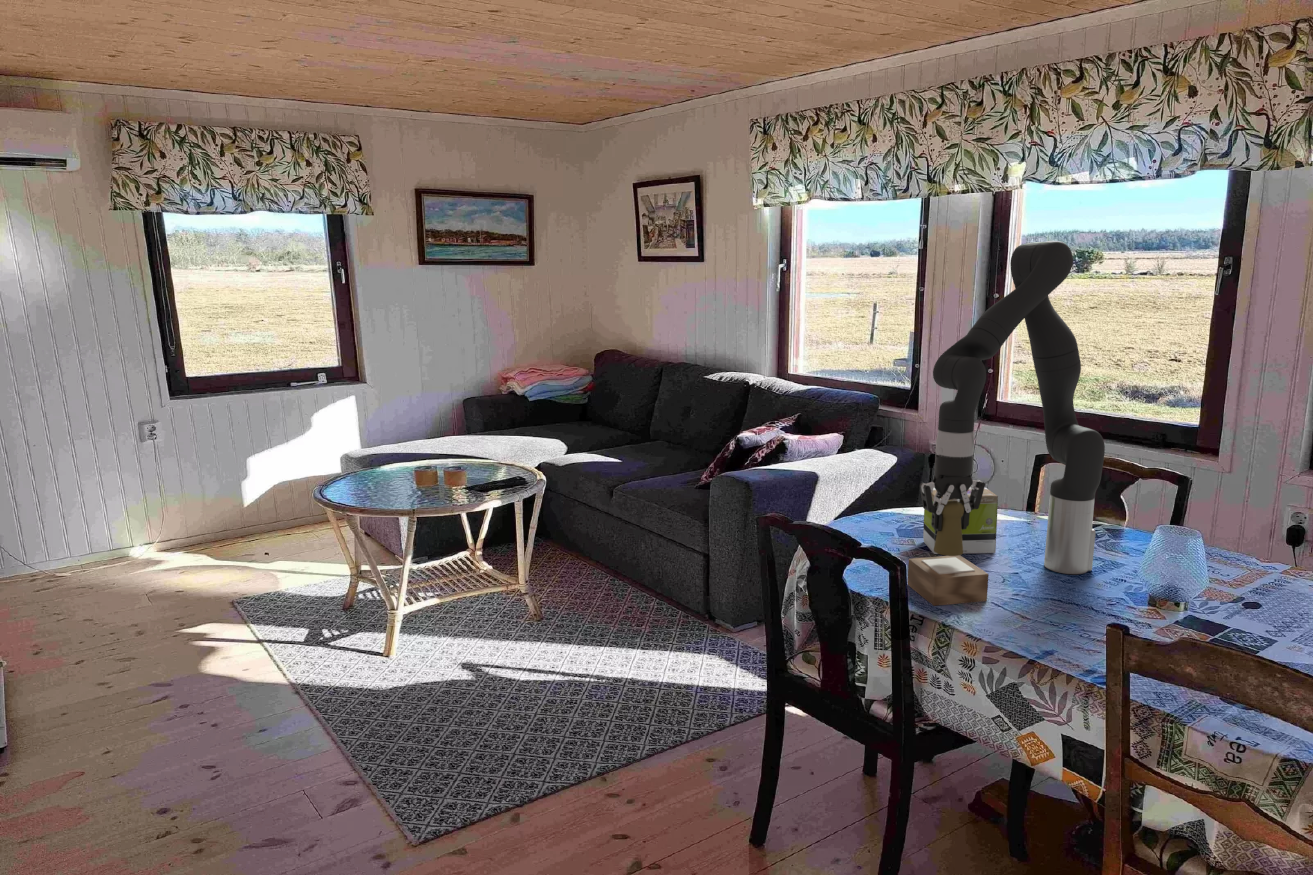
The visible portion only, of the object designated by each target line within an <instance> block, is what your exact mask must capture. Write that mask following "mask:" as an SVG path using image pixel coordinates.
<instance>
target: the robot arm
mask: <svg viewBox="0 0 1313 875" xmlns="http://www.w3.org/2000/svg"><path fill="white" fill-rule="evenodd" d="M1073 257H1074V256H1073V253H1072V250H1071V247H1069V246H1068V244H1066V243H1065V242H1063V241H1060V240H1048V241H1047V240H1046V241H1038V242H1036V241H1035V242H1027V243H1022V244H1020V245H1018V246H1017V247H1016V248H1014V249H1013V252H1012V254H1011V257H1010V264H1009V265H1010V266H1009V267H1010V274H1011V278H1012V281H1013V285H1014V289H1013V290H1012V291H1011V292H1009V293H1008V294H1007V295H1005V296H1004V297H1002V298H1001V299H1000V300H998V301H997V302H995V303H994V304H992V306H990V307H989V308H988V309H986V311H985V312H983V313H982V315H981V316H979V318H978V319H977V320H976V321H975V323H974V324H973V326H972V327H971V328H970V330H969V331H968V333H967V334H965V335H964V337H962V338H960V339H959V340H957V341H956V342H955V343H954V344H953V345H951V346H950V347H949V348H947V349H946V350H945V351H943V353H941V355H939V357H938V358H937V359H936V361H935V364H933V365H934V366H933V370H932V378H933V381H934V382H935V384H936V385H938V387H941V388H944V389H949V390H954V391H956V393H955V394H956V395H955V397H954V399H953V400H946V401H943V402H942V403H941V404H940V406H939V410H938V422H937V423H938V424H937V435H936V439H935V453H934V454H935V455H934V468H933V469H934V477H933V479H932V481H931V482H927V483H924V482H920V483H919V490H920V496H921V503H922V508H923V509H925V510H927V511H929V512H932V521H931V525H932V527H933V528H934V530H936V531H941V527H942V515H941V513H942V510H943V508H944V506H945V505H946V504H947V502H948V500H951V499H957V501H958V502H960V503H962V504H963V506H964V513H963V516H962V517H961V529H962V530H964V529H967V527H968V525H969V515H970V512H971V510H974V509H978V508H979V505H980V502H981V498H982V495H983V491H984V487H986V483H985V482H984V481H982V480H980V479H973V477H972V474H973V465H974V453H975V452H974V451H975V436H974V435H975V432H974V431H975V416H976V414H975V413H976V410H977V407H978V405H979V401H980V399H981V397H982V396H981V395H982V393H983V390H984V388H985V384H986V379H987V370H986V366H985V365H984V362H983V361H985V360H989V359H991V358H993V357H994V356H995V355H996V354H997V353H998V352H999V350H1000V349H1001V348H1002V346H1003V345H1004V344H1005V342H1006V341H1007V340H1008V339H1009V337H1010V335H1011V334H1012V333H1013V332H1014V331H1015V330H1016V328H1018V326H1019V325H1020V324H1021V323H1022V321H1023V320H1024V321H1025V322H1024V323H1025V327H1026V329H1027V330H1026V331H1027V335H1028V340H1029V344H1030V352H1031V356H1032V361H1033V366H1034V367H1033V368H1034V371H1035V376H1036V379H1037V384H1038V389H1039V396H1040V401H1041V406H1042V412H1043V414H1042V415H1043V425H1044V426H1043V427H1044V436H1045V444H1046V450H1047V453H1048V454H1049V456H1050V457H1051V458H1052V459H1053V460H1054V461H1056V462H1058V463H1060V464H1064V465H1065V467H1064V473H1063V477H1062V478H1059V479H1054V480H1053V481H1051V483H1050V489H1049V501H1048V502H1049V503H1048V512H1047V514H1048V515H1047V526H1046V527H1047V528H1046V537H1045V538H1046V539H1045V549H1044V550H1045V551H1044V563H1043V564H1044V567H1045V568H1046V569H1048V570H1049V571H1053V572H1055V573H1060V574H1066V575H1081V574H1085V573H1088V572H1089V571H1092V570H1093V564H1094V563H1093V562H1094V553H1095V543H1096V530H1095V529H1094V528H1093V521H1094V511H1095V510H1094V508H1095V498H1096V492H1097V490H1098V488H1099V487H1100V486H1099V485H1100V483H1101V481H1102V480H1101V479H1102V474H1103V467H1104V462H1105V454H1106V452H1105V450H1106V449H1105V448H1106V447H1105V441H1104V438H1103V436H1102V435H1101V433H1099V431H1097V430H1096V429H1092V428H1089V427H1086V426H1085V427H1084V426H1082V425H1079V422H1078V420H1077V416H1076V411H1075V407H1074V404H1075V403H1074V395H1075V391H1076V389H1077V385H1078V383H1079V380H1080V377H1081V371H1082V362H1081V358H1080V353H1079V347H1078V342H1077V339H1076V337H1075V334H1074V333H1073V331H1072V330H1071V328H1070V327H1069V326H1068V325H1067V323H1066V322H1065V321H1064V319H1063V318H1062V317H1061V315H1059V314H1058V312H1057V311H1056V309H1055V308H1054V307H1053V304H1052V302H1051V301H1050V297H1049V295H1050V294H1051V293H1052V292H1054V290H1056V289H1057V288H1059V286H1060V285H1061V284H1062V283H1063V282H1064V281H1065V280H1066V279H1067V278H1068V276H1069V274H1070V273H1071V271H1072V268H1073V265H1074V263H1073V262H1074V258H1073ZM970 487H971V489H972V491H971V494H970V498H968V494H967V491H968V489H969V488H970ZM933 488H935V489H936V491H937V492H936V494H935V496H934V502H933V501H932V495H931V493H933ZM941 497H942V499H941Z"/></svg>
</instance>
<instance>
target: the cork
mask: <svg viewBox="0 0 1313 875" xmlns="http://www.w3.org/2000/svg"><path fill="white" fill-rule="evenodd" d="M963 513H964V506H963V504H962V503H960V502H958V501H953V500H948V502H947V504H946V505H945V506H944V508H943V510H942V513H941V515H942V527H941V531H937V536H936V541H935V546H934V552H936V553H938V554H937V555H941V556H959V555H960V556H962V555H963V543H962V529H961V517H962V516H963Z"/></svg>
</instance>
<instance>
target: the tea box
mask: <svg viewBox="0 0 1313 875" xmlns="http://www.w3.org/2000/svg"><path fill="white" fill-rule="evenodd" d="M971 491H972V489H971V487H970V488H969V489H968V491H967V494H968V498H970V494H971ZM936 492H937V491H936V489H935V488H933V493H931V495H932V501H933V502H934V496H935V494H936ZM941 499H942V497H941ZM951 500H953V501H957V499H951ZM998 506H999V496H998V495H997V494H995V493H994V492H992V491H991V490H990V489H988V488H987V487H986V486H985V487H984V491H983V495H982V498H981V502H980V505H979V508H978V509H974V510H971V512H970V515H969V525H968V527H967V529H964V530H962V543H963V554H996V547H997V526H998ZM923 509H924V508H923ZM931 521H932V512H929V511H927V510H925V509H924V510H923V532H922V533H923V535H922V536H923V537H922V538H923V540H922V541H923V543H924V544H925V545H926V546H927V547H928V549H929V550H930V551H931V552H932V554H934V555H939V554H938V553H936V552H934V546H935V541H936V536H937V531H936V530H934V528H933V527H932V525H931ZM963 554H962V555H963Z"/></svg>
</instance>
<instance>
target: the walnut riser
mask: <svg viewBox="0 0 1313 875" xmlns="http://www.w3.org/2000/svg"><path fill="white" fill-rule="evenodd" d="M907 568H908V569H907V583H908V585H909V586H908V585H907V586H908V587H910V588H911V589H912V590H913V591H914V592H916V593H917V594H919V596H921V597H922V598H923V599H924V600H926V601H927V602H928V603H930V605H932V606H933V607H934V606H946V605H948V606H949V605H956V604H957V605H958V604H968V603H979V602H980V603H981V602H987V601H988V589H989V588H988V586H989V575H990V574H989V573H988V572H986V571H985V570H983V569H982V568H980V567H978V566H977V565H975V564H974V563H973V562H971V561H970V560H968V559H966V558H965V557H963V556H962V555H959V556H946V555H941V556H929V557H915V558H914V557H913V558H908V566H907Z"/></svg>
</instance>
